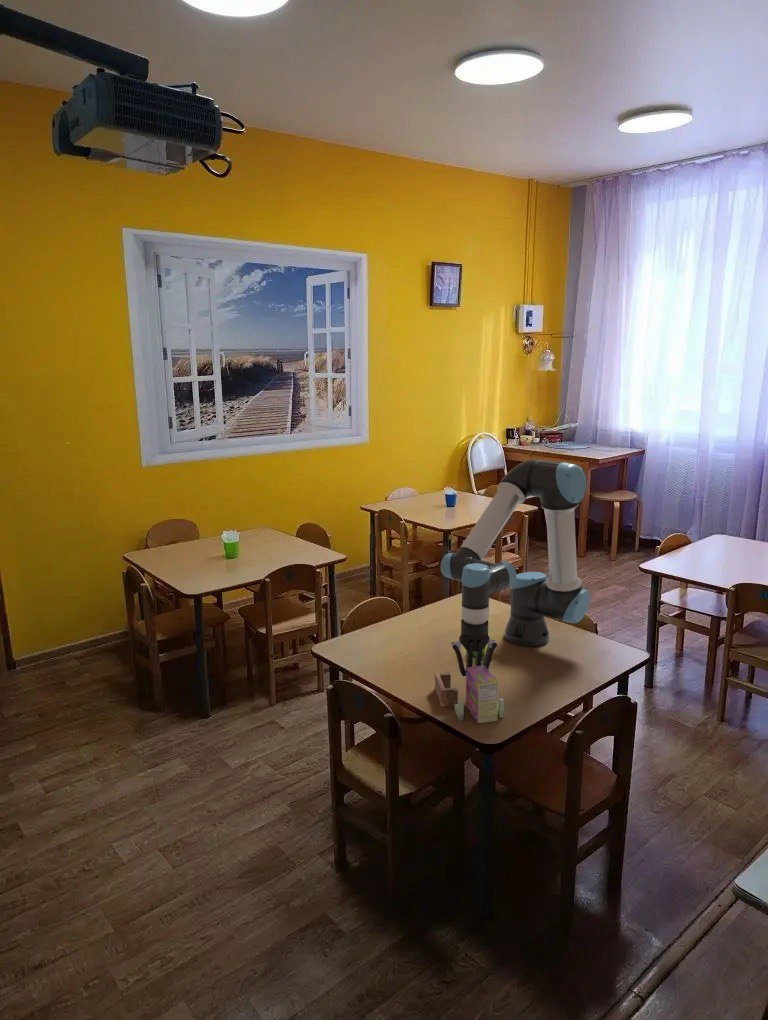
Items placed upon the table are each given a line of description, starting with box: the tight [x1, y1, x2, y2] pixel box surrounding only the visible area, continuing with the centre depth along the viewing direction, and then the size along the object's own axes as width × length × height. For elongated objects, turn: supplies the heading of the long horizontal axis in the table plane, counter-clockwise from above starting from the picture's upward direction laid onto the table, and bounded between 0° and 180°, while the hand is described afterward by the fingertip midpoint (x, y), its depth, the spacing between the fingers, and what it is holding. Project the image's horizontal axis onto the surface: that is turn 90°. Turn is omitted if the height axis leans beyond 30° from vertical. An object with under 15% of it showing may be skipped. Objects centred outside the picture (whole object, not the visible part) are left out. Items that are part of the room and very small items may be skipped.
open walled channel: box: [434, 671, 459, 708], centre depth 199 cm, size 16×12×5 cm
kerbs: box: [453, 698, 505, 721], centre depth 189 cm, size 12×6×5 cm, turn 96°
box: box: [465, 664, 499, 724], centre depth 188 cm, size 10×6×12 cm, turn 12°
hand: (473, 696), depth 196 cm, fingers closed
